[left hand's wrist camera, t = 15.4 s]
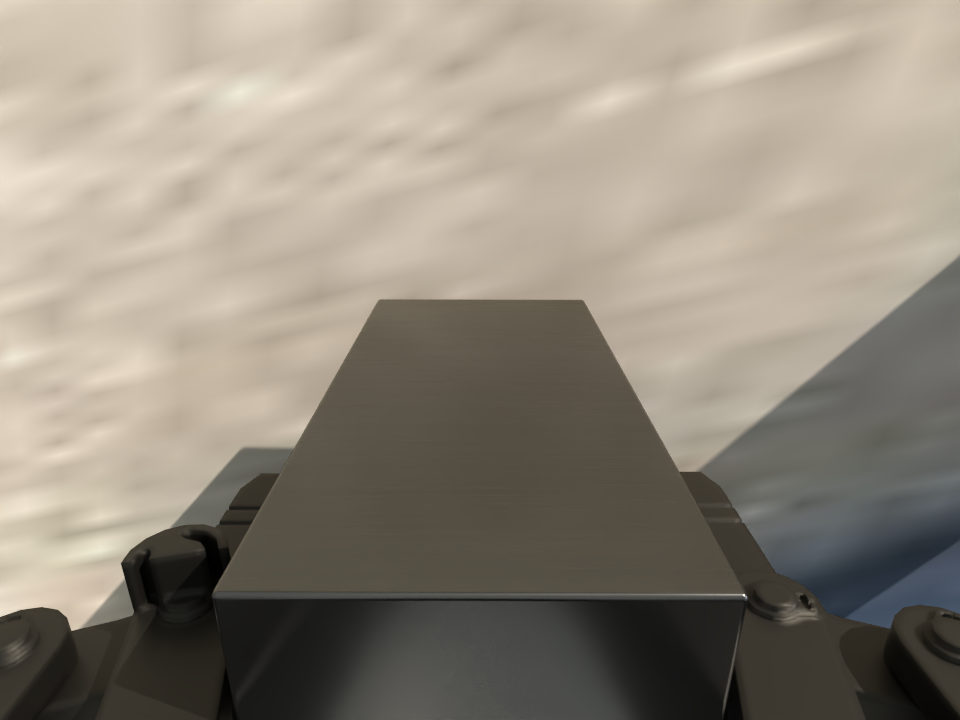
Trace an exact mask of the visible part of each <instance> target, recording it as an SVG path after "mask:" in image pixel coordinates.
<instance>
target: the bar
mask: <svg viewBox="0 0 960 720" xmlns="http://www.w3.org/2000/svg"><path fill="white" fill-rule="evenodd" d="M212 601H213V606H214V611H215V616H216V621H217V626H218V630H219V635H220V640H221V645H222V650H223V655H224V660H225V665H226V669H227V674H228V679H229V684H230V689H231V694H232V699H233V704H234V709H235V713H236V718H237V720H723V717H724V712H725V707H726V703H727V698H728V693H729V688H730V683H731V679H732V674H733V669H734V664H735V660H736V655H737V650H738V645H739V640H740V636H741V631H742V626H743V621H744V617H745V612H746V607H747V602H748V596H747V593H746V591H745V589H744V587H743V585H742V584H741V582H740V580H739V578H738V577H737V575H736V573H735V571H734V569H733V568H732V566H731V564H730V562H729V560H728V559H727V557H726V555H725V553H724V551H723V550H722V548H721V546H720V544H719V542H718V541H717V539H716V537H715V535H714V534H713V532H712V530H711V528H710V526H709V525H708V523H707V521H706V519H705V517H704V516H703V514H702V512H701V510H700V508H699V507H698V505H697V503H696V501H695V499H694V498H693V496H692V494H691V492H690V491H689V489H688V487H687V485H686V483H685V482H684V480H683V478H682V476H681V474H680V473H679V471H678V469H677V467H676V465H675V464H674V462H673V460H672V458H671V456H670V455H669V453H668V451H667V449H666V448H665V446H664V444H663V442H662V440H661V439H660V437H659V435H658V433H657V431H656V430H655V428H654V426H653V424H652V422H651V421H650V419H649V417H648V415H647V413H646V412H645V410H644V408H643V406H642V405H641V403H640V401H639V399H638V397H637V396H636V394H635V392H634V390H633V388H632V387H631V385H630V383H629V381H628V379H627V378H626V376H625V374H624V372H623V370H622V369H621V367H620V365H619V363H618V362H617V360H616V358H615V356H614V354H613V353H612V351H611V349H610V347H609V345H608V344H607V342H606V340H605V338H604V336H603V335H602V333H601V331H600V329H599V327H598V326H597V324H596V322H595V320H594V319H593V317H592V315H591V313H590V311H589V310H588V308H587V306H586V304H585V302H584V301H583V300H378V302H377V304H376V305H375V307H374V309H373V311H372V313H371V314H370V316H369V318H368V320H367V321H366V323H365V325H364V327H363V328H362V330H361V332H360V334H359V335H358V337H357V339H356V341H355V342H354V344H353V346H352V348H351V350H350V351H349V353H348V355H347V357H346V358H345V360H344V362H343V364H342V365H341V367H340V369H339V371H338V372H337V374H336V376H335V378H334V379H333V381H332V383H331V385H330V386H329V388H328V390H327V392H326V394H325V395H324V397H323V399H322V401H321V402H320V404H319V406H318V408H317V409H316V411H315V413H314V415H313V416H312V418H311V420H310V422H309V423H308V425H307V427H306V429H305V431H304V432H303V434H302V436H301V438H300V439H299V441H298V443H297V445H296V446H295V448H294V450H293V452H292V453H291V455H290V457H289V459H288V460H287V462H286V464H285V466H284V468H283V469H282V471H281V473H280V475H279V476H278V478H277V480H276V482H275V483H274V485H273V487H272V489H271V490H270V492H269V494H268V496H267V497H266V499H265V501H264V503H263V504H262V506H261V508H260V510H259V512H258V513H257V515H256V517H255V519H254V520H253V522H252V524H251V526H250V527H249V529H248V531H247V533H246V534H245V536H244V538H243V540H242V541H241V543H240V545H239V547H238V549H237V550H236V552H235V554H234V556H233V557H232V559H231V561H230V563H229V564H228V566H227V568H226V570H225V571H224V573H223V575H222V577H221V578H220V580H219V582H218V584H217V585H216V587H215V589H214V591H213V594H212Z"/></svg>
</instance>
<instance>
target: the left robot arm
mask: <svg viewBox="0 0 960 720" xmlns="http://www.w3.org/2000/svg"><path fill="white" fill-rule="evenodd" d="M679 473H680V474H681V476H682V478H683V480H684V482H685V483H686V485H687V487H688V489H689V491H690V492H691V494H692V496H693V498H694V499H695V501H696V503H697V505H698V507H699V508H700V510H701V512H702V514H703V516H704V517H705V519H706V521H707V523H708V525H709V526H710V528H711V530H712V532H713V534H714V535H715V537H716V539H717V541H718V542H719V544H720V546H721V548H722V550H723V551H724V553H725V555H726V557H727V559H728V560H729V562H730V564H731V566H732V568H733V569H734V571H735V573H736V575H737V577H738V578H739V580H740V582H741V584H742V585H743V587H744V589H745V591H746V593H747V596H748V602H747V607H746V612H745V617H744V621H743V626H742V631H741V636H740V640H739V645H738V650H737V655H736V660H735V664H734V669H733V674H732V679H731V683H730V688H729V693H728V698H727V703H726V707H725V712H724V717H723V720H960V614H958V613H955V612H952V611H949V610H946V609H943V608H939V607H932V606H925V605H916V606H910V607H904V608H903V609H902V610H900V611H899V612H898V613H897V614H896V615H895V616H894V619H893V622H892V625H891V628H890V629H888V628H884V627H880V626H875V625H871V624H867V623H862V622H858V621H854V620H850V619H845V618H842V617H839V616H835V615H832V614H829V613H827V612H826V611H825V609H824V608H823V606H822V604H821V603H820V601H819V600H818V598H817V597H816V596H815V595H814V594H812V593H811V592H810V591H809V590H808V589H806V588H805V587H804V586H803V585H801V584H799V583H797V582H795V581H793V580H791V579H789V578H788V577H786V576H783V575H779V574H776V572H775V571H774V569H773V567H772V566H771V564H770V563H769V561H768V560H767V558H766V557H765V555H764V554H763V552H762V550H761V549H760V547H759V546H758V544H757V543H756V541H755V540H754V538H753V536H752V535H751V533H750V532H749V530H748V529H747V527H746V526H745V524H744V523H742V522H741V518H740V516H739V515H738V513H737V512H736V510H735V509H734V508H732V504H731V502H730V501H729V499H728V498H727V496H726V495H725V493H724V492H723V490H722V488H721V487H720V486H719V485H717V484H716V483H714V482H713V481H712V480H710V479H709V478H708V477H706V476H705V475H704V474H702V473H701V472H679ZM279 475H280V474H260V475H259V476H257V477H256V478H255V479H253V480H252V481H250V482H249V483H248V484H246V485H245V486H244V487H242V488H241V489H240V491H239V492H238V494H237V495H236V497H235V498H234V500H233V501H232V503H231V505H230V506H229V510H227V511H226V512H225V514H224V515H223V517H222V519H221V520H220V525H217V526H216V528H215V527H211V526H207V525H184V526H179V527H175V528H171V529H167V530H164V531H162V532H160V533H157V534H155V535H153V536H151V537H149V538H146V539H145V540H144V541H142V542H141V543H140V544H138V545H137V546H135V547H134V548H133V549H131V550H130V552H129V553H128V554H127V556H126V557H125V558H124V560H123V561H122V562H121V565H122V569H123V573H124V576H125V580H126V584H127V587H128V591H129V595H130V598H131V602H132V605H133V609H134V614H133V616H130V617H127V618H124V619H120V620H117V621H113V622H109V623H104V624H100V625H96V626H91V627H87V628H83V629H79V630H74V631H71V629H70V626H69V623H68V619H67V617H65V616H64V615H63V614H62V613H61V612H60V611H58V610H55V609H49V608H43V607H40V608H32V609H25V610H20V611H17V612H14V613H11V614H8V615H5V616H2V617H0V720H237V718H236V713H235V709H234V704H233V699H232V694H231V689H230V684H229V679H228V674H227V669H226V665H225V660H224V655H223V650H222V645H221V640H220V635H219V630H218V626H217V621H216V616H215V611H214V606H213V601H212V594H213V591H214V589H215V587H216V585H217V584H218V582H219V580H220V578H221V577H222V575H223V573H224V571H225V570H226V568H227V566H228V564H229V563H230V561H231V559H232V557H233V556H234V554H235V552H236V550H237V549H238V547H239V545H240V543H241V541H242V540H243V538H244V536H245V534H246V533H247V531H248V529H249V527H250V526H251V524H252V522H253V520H254V519H255V517H256V515H257V513H258V512H259V510H260V508H261V506H262V504H263V503H264V501H265V499H266V497H267V496H268V494H269V492H270V490H271V489H272V487H273V485H274V483H275V482H276V480H277V478H278V476H279Z"/></svg>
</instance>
